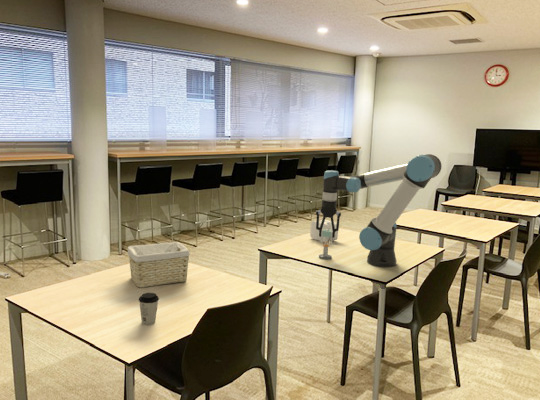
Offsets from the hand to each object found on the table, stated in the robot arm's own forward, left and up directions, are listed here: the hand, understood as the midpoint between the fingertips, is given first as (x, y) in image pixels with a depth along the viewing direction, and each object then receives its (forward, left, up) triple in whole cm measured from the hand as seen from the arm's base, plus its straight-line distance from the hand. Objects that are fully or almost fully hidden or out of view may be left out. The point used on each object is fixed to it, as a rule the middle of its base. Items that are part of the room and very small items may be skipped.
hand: (326, 242), depth 257 cm
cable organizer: (+29, -26, -9) cm, 40 cm away
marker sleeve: (0, 0, +4) cm, 4 cm away
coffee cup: (-28, +112, -8) cm, 116 cm away
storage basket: (+11, +91, -9) cm, 92 cm away
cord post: (0, 0, -8) cm, 8 cm away
